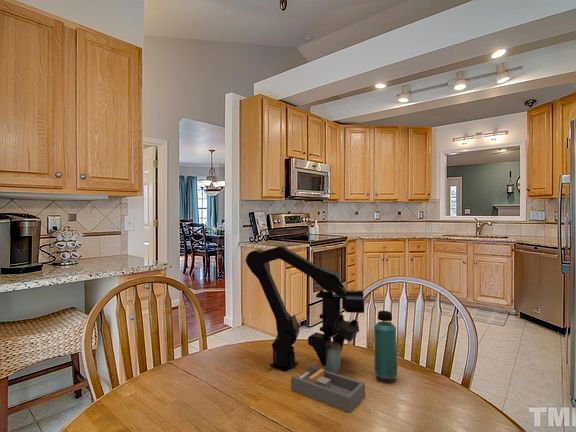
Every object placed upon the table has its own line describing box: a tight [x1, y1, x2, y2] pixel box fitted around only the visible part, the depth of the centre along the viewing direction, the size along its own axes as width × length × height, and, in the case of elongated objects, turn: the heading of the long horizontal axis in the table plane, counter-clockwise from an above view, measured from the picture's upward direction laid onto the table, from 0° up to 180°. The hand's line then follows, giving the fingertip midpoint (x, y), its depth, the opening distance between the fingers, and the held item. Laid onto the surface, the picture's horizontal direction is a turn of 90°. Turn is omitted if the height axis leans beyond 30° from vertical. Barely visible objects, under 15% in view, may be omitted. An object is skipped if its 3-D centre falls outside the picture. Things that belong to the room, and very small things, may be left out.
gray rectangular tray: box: [290, 364, 366, 414], centre depth 90 cm, size 18×9×4 cm, turn 53°
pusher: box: [309, 368, 331, 388], centre depth 91 cm, size 4×7×3 cm, turn 143°
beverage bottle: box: [373, 310, 398, 380], centre depth 97 cm, size 6×7×20 cm
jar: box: [322, 340, 342, 374], centre depth 104 cm, size 6×6×8 cm
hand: (331, 360), depth 104 cm, fingers open, 9 cm apart
